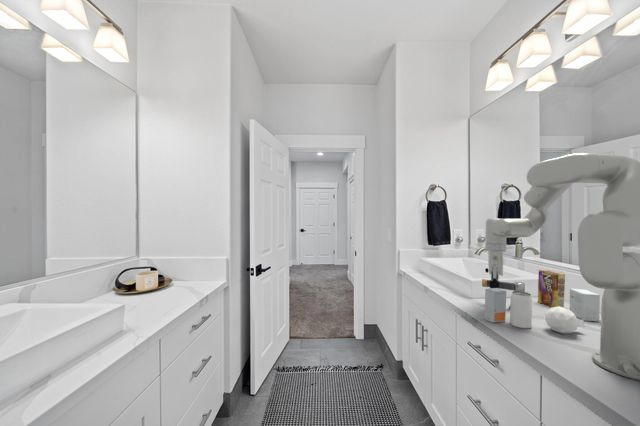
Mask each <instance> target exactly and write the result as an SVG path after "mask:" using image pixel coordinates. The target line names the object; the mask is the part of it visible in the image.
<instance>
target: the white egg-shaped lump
mask: <svg viewBox="0 0 640 426" xmlns="http://www.w3.org/2000/svg"><path fill="white" fill-rule="evenodd" d="M544 319H545V321H546V322H545V323H546V325H547V326H548V327H549V328H550V329H551V330H552V331H554V332H557V333H559V334H562V335H564V334H571V333H573V332H575V331H577V329H578V327H581V328H582V327H583V328H584V327H585V322H584V320H581V319H579V318H578V317H576V316H575V314H574V313H573V312H571V311H570V309H567V308H565V307H564V308H562V307H560V306H559V307H549V308H548V310H547V311H546V312H545V315H544Z"/></svg>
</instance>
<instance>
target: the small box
mask: <svg viewBox="0 0 640 426" xmlns="http://www.w3.org/2000/svg"><path fill="white" fill-rule="evenodd" d="M600 303H601V302H600V294H598V293H595V292H592V291H590V290H587V289H582V288H581V289H580V288H570V289H569V310H570V311H571V312H573V313H574V314H575V316H576V318H577V319H580V320H584V321H585V322H586V321H589V322H600V313H601V312H600V311H601V310H600Z"/></svg>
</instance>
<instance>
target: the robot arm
mask: <svg viewBox="0 0 640 426" xmlns="http://www.w3.org/2000/svg"><path fill="white" fill-rule="evenodd" d="M526 181H527V184H529V185H530V186H531V187H530V188H529V189H528V190H527V191H526V192H525V194H524V195H523V201H524V202H525V203H526V205H528V206H529V207H530V208H531V209H530V211H529V212H528V213H527V214H526V215H525V216H524V217H523V218H513V217H512V218H498V217H495V218H494V217H491V218H487V219H486V221H485V241H484V242H485V243H484V244H485V245H484V250H485V251H487V252H488V259H487V263H488V274H489V275H490V279H489V280H490V287H489V289H490V288H499V281H500V280H499V278H500V277H502V276H503V275H504V253H506V252H507V239H508V238H528V237H531V236H533V235H534V234H536V233H537V232H538V231H539V230H540V229H541V228H543V226H544V225H545V224H546V222H547V219H548V217H549V208H550V207H551V206H552V205H554V203H555V202H556V201H557V200H558V199H559V198H560V197H561V196H562V195H563V194H564V193H565V192H566V191H567V190H568V189H569V188H570V187H571V186H572V185H573V184H577V183H578V184H579V183H580V184H581V183H582V184H604V185H607V186H606V188H605V190H604V192H603V194H602V199H601V200H602V211H596V212H592V213H589V214H588V215H587V216H585V217H584V218H582V220H581V222H579V223H580V224H579V225H578V227H577V246H578V247H577V250H578V267H579V271H580V275H581V276H582V278H583V279H584V280H585V281H586V282H587V283H588V284H590V285H591V287H592V286H593V287H595V288H598V289H604V290H603V293H602V297H601V310H600V311H601V312H600V313H601V315H600V343H599V346H600V348H599V351H597V352H594V353H592V354H591V355H592V356H591V359H592V361H593V362H594V363H595V364H597V365H598V366H599V367H602V368H603V369H605V370H607V371H609V372H612V373H613V374H615V375H616V374H617V375H620V376H622V377H626V378H630V379H632V380H637V381H640V252H635V251H624V247H625V248H628V247H637V246H640V161H639V160H637V159H635V158H633V157H629V156H624V155H617V154H608V153H591V152H590V153H589V152H581V153H580V152H578V153H577V152H576V153H572V154H566V155H563V156H559V157H555V158H551V159H546V160H542V161H540V162H537V163H535V164H534V165H532V166H531V167H530V168H529V169H528V171H527V174H526ZM499 276H500V277H499Z"/></svg>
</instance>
